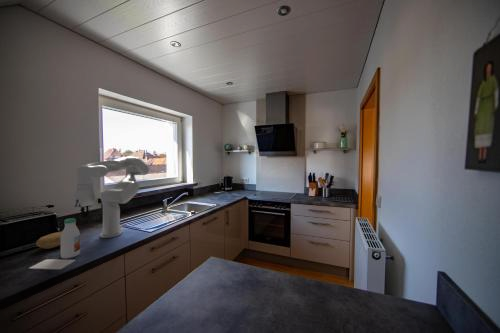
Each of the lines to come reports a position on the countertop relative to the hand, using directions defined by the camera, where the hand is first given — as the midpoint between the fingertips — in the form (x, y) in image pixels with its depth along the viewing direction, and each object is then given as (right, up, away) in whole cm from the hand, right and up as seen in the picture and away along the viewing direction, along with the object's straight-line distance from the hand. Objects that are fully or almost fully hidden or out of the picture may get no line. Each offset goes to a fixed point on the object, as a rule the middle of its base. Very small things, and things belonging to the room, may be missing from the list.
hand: (85, 217), depth 114 cm
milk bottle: (0, -19, -9) cm, 20 cm away
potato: (-19, -18, 0) cm, 26 cm away
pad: (-1, -19, -18) cm, 26 cm away
